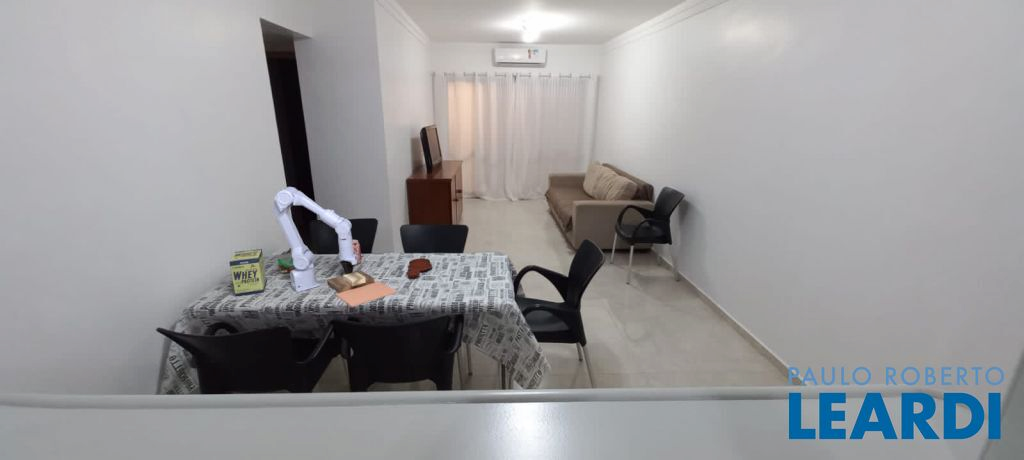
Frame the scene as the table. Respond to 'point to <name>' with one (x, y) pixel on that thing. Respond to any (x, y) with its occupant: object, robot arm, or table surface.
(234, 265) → the protein box
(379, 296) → the terracotta mat
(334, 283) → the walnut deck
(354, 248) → the soda can
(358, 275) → the birch tile
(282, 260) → the food container
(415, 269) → the steak
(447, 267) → the table surface
